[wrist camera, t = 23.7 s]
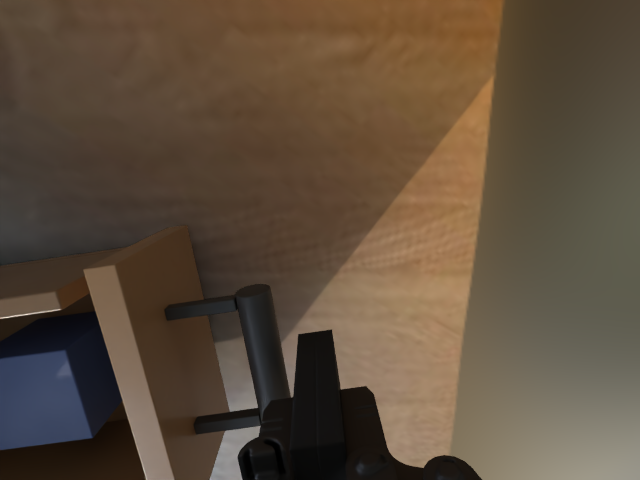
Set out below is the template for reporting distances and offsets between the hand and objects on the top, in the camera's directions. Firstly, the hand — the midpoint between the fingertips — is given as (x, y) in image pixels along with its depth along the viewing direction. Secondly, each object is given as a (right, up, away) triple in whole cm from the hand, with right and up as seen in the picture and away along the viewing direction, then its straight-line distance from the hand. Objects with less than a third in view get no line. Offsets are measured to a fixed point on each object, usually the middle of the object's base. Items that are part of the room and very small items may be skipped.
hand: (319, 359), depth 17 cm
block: (-13, -1, +5) cm, 14 cm away
